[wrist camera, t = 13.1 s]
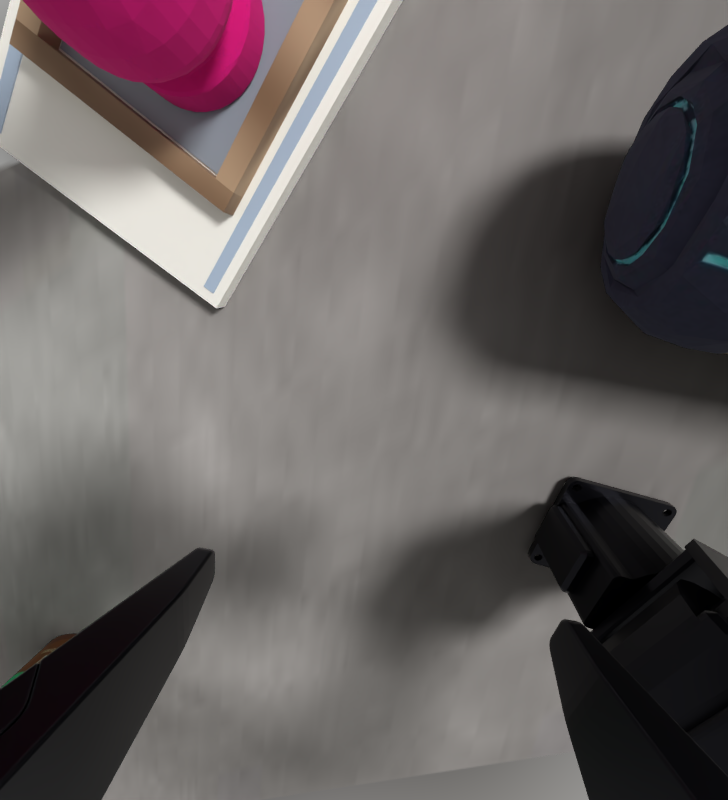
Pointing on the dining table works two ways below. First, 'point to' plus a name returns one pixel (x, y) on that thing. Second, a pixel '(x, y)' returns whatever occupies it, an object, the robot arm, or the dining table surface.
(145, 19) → the pepper mill
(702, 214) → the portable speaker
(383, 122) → the dining table surface
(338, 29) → the picture frame
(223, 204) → the walnut socket
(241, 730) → the dining table surface
